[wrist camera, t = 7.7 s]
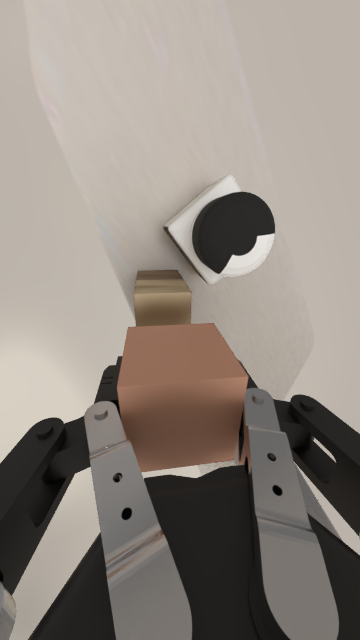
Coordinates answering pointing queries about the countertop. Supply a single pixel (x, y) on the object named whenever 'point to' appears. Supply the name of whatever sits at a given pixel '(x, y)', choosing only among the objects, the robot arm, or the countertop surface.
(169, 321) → the tower top
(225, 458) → the clay block
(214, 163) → the countertop surface
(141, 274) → the tower bottom
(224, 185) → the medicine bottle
